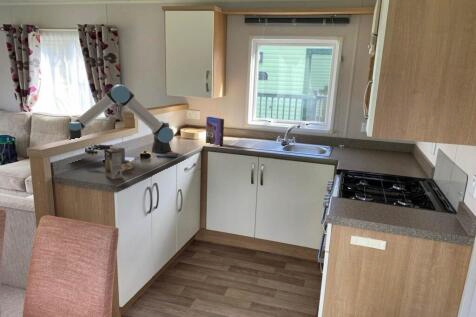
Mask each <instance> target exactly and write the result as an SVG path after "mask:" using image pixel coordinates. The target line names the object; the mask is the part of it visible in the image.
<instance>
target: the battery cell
mask: <svg viewBox="0 0 476 317" xmlns="http://www.w3.org/2000/svg"><path fill="white" fill-rule="evenodd" d="M117 147H118V148H116V149H117V150H119V151H121V165H122V164H125V161H126V151H125V150H126V149H125V148H124V147H122V146H117Z"/></svg>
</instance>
